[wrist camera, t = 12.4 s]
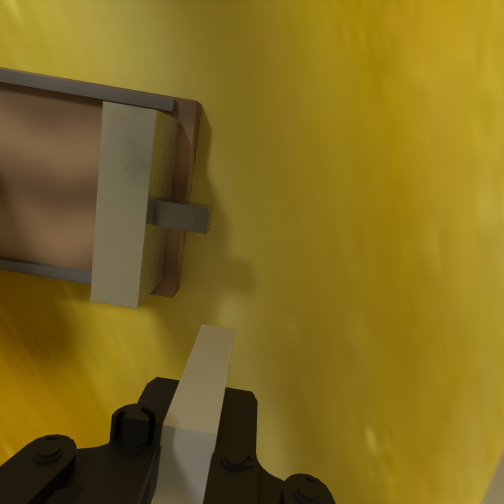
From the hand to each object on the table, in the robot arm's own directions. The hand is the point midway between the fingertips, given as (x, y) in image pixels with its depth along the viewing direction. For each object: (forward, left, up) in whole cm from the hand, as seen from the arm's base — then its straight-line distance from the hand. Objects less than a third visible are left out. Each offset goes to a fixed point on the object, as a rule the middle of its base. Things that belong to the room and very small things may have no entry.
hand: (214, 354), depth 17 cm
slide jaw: (-4, -5, -13) cm, 15 cm away
